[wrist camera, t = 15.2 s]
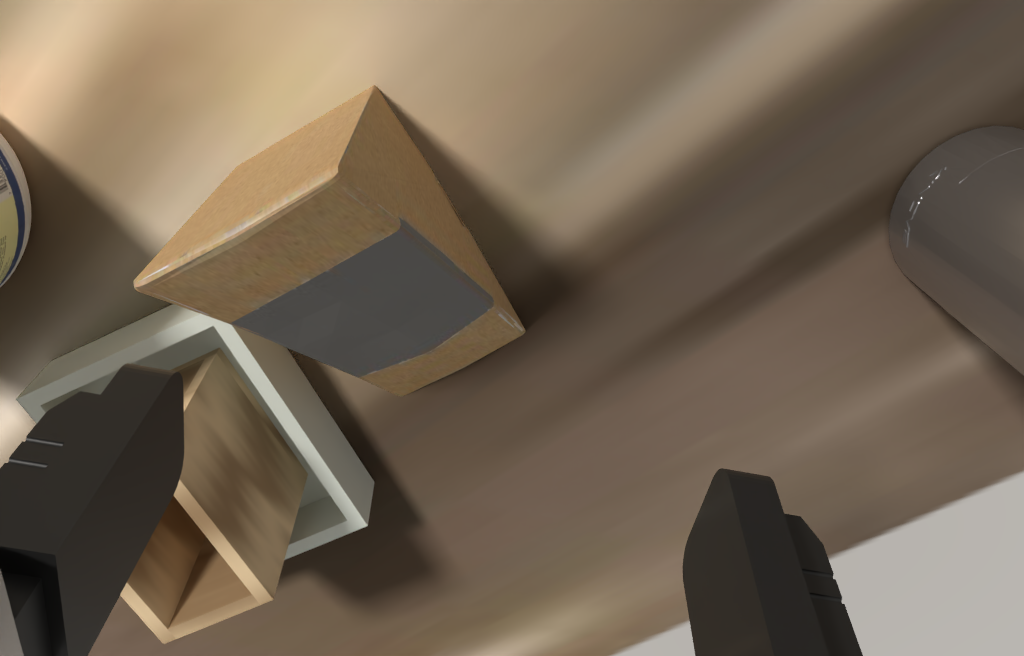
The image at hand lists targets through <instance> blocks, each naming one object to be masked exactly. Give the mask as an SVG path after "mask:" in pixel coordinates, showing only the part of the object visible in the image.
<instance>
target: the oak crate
mask: <svg viewBox="0 0 1024 656" xmlns="http://www.w3.org/2000/svg"><path fill="white" fill-rule="evenodd" d="M170 371H176V372H179V373H180V374H181V375H182V378H183V393H184V461H183V467H182V472H181V476H180V479H179V483H178V486H177V488H176V491H175V493H174V495H173V497H172V499H171V501H170V503H169V505H168V506H167V508H166V510H165V512H164V514H163V516H162V518H161V519H160V521H159V523H158V525H157V527H156V529H155V531H154V532H153V534H152V536H151V538H150V540H149V542H148V544H147V546H146V547H145V549H144V551H143V553H142V555H141V557H140V559H139V560H138V562H137V564H136V566H135V568H134V570H133V572H132V573H131V575H130V577H129V579H128V581H127V583H126V585H125V587H124V588H123V590H122V592H121V594H120V595H121V597H122V598H123V599H124V600H125V601H126V602H127V603H128V604H129V606H130V607H131V608H132V609H133V610H134V611H135V612H136V613H137V615H138V616H139V617H140V618H141V619H142V620H143V621H144V623H145V624H146V625H147V626H148V627H149V628H150V629H151V630H152V632H153V633H154V634H155V635H156V636H157V637H158V638H159V639H160V641H161V642H162V643H163V644H165V643H168V642H170V641H173V640H175V639H178V638H180V637H183V636H185V635H188V634H190V633H193V632H195V631H197V630H200V629H202V628H205V627H207V626H210V625H212V624H215V623H217V622H220V621H222V620H225V619H227V618H229V617H232V616H234V615H237V614H239V613H242V612H244V611H247V610H249V609H252V608H254V607H257V606H259V605H261V604H264V603H266V602H269V601H271V600H273V599H274V596H275V592H276V588H277V585H278V581H279V578H280V574H281V570H282V567H283V563H284V559H285V556H286V552H287V549H288V545H289V541H290V538H291V534H292V531H293V527H294V523H295V520H296V516H297V512H298V509H299V505H300V502H301V498H302V494H303V491H304V487H305V483H306V480H307V476H308V473H307V472H306V470H305V469H304V467H303V466H302V464H301V463H300V462H299V460H298V459H297V457H296V456H295V454H294V453H293V452H292V450H291V449H290V447H289V446H288V444H287V443H286V442H285V440H284V439H283V437H282V436H281V434H280V433H279V431H278V430H277V429H276V427H275V426H274V424H273V423H272V421H271V420H270V419H269V417H268V416H267V414H266V413H265V411H264V410H263V408H262V407H261V406H260V404H259V403H258V401H257V400H256V398H255V397H254V396H253V394H252V393H251V391H250V390H249V388H248V387H247V385H246V384H245V383H244V381H243V380H242V378H241V377H240V375H239V374H238V373H237V371H236V370H235V368H234V367H233V365H232V364H231V362H230V361H229V360H228V358H227V357H226V355H225V354H224V352H223V351H222V350H221V348H217V349H215V350H213V351H211V352H209V353H206V354H204V355H202V356H200V357H198V358H196V359H193V360H191V361H189V362H187V363H185V364H182V365H180V366H178V367H176V368H174V369H171V370H170Z"/></svg>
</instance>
